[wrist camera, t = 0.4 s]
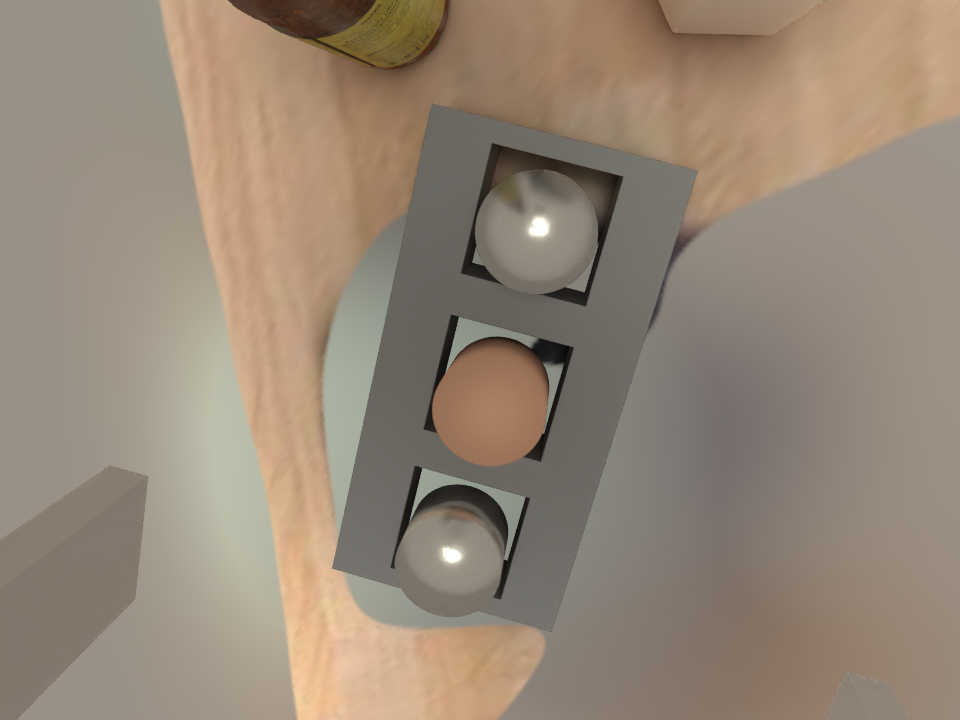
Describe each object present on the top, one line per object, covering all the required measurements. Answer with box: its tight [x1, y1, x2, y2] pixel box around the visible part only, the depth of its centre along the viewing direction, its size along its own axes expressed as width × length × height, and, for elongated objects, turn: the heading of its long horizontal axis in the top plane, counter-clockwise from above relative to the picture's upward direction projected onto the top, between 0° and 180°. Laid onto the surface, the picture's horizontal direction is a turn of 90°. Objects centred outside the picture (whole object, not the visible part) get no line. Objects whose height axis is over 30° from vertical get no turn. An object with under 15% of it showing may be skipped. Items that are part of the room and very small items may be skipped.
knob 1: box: [395, 485, 508, 617], centre depth 37 cm, size 5×5×4 cm
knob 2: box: [475, 169, 598, 294], centre depth 32 cm, size 5×5×4 cm
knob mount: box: [332, 104, 698, 632], centre depth 38 cm, size 24×12×4 cm, turn 166°
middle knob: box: [432, 337, 549, 466], centre depth 34 cm, size 5×5×4 cm
